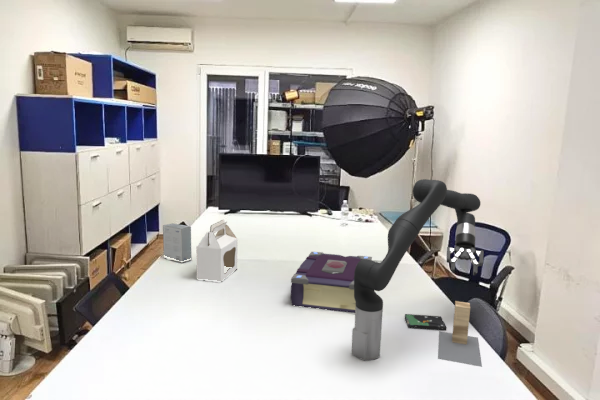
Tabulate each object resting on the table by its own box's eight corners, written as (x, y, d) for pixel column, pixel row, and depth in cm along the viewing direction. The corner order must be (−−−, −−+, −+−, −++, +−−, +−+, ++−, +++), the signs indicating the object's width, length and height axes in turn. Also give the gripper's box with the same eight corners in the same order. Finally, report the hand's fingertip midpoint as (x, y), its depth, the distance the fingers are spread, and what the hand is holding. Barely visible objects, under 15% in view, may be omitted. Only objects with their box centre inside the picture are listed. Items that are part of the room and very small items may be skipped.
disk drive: (440, 322, 182) (403, 319, 183) (441, 316, 181) (404, 313, 182) (446, 333, 171) (407, 330, 172) (447, 327, 171) (408, 324, 172)
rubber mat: (481, 368, 146) (482, 366, 146) (437, 360, 150) (437, 358, 150) (477, 339, 166) (478, 337, 166) (439, 332, 171) (439, 331, 171)
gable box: (220, 283, 218) (220, 228, 213) (196, 280, 221) (195, 225, 216) (237, 269, 239) (237, 219, 234) (214, 267, 242) (214, 217, 237)
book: (287, 306, 193) (288, 275, 190) (308, 274, 236) (309, 248, 234) (363, 315, 186) (365, 283, 183) (371, 280, 229) (372, 254, 227)
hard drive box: (192, 260, 253) (191, 226, 249) (181, 263, 246) (181, 228, 243) (173, 255, 261) (172, 222, 258) (163, 258, 254) (162, 225, 251)
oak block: (466, 344, 161) (470, 308, 158) (452, 342, 162) (455, 306, 160) (466, 338, 165) (469, 303, 163) (452, 336, 167) (455, 301, 165)
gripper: (447, 230, 179) (444, 266, 170) (485, 233, 175) (485, 271, 166) (446, 239, 185) (444, 275, 176) (483, 243, 180) (482, 280, 171)
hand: (463, 273), depth 171 cm, fingers open, 7 cm apart
